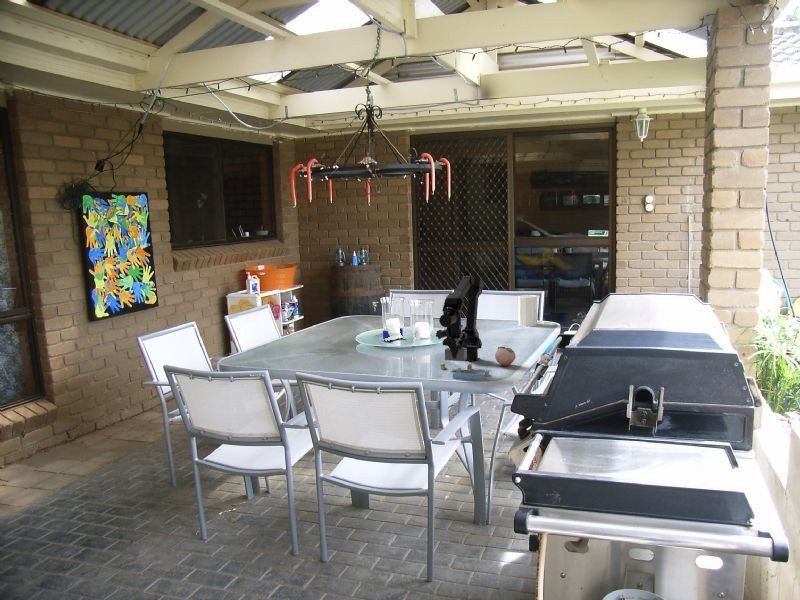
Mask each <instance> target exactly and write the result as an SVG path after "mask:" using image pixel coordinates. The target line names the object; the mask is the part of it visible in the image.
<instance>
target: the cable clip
mask: <svg viewBox="0 0 800 600" xmlns="http://www.w3.org/2000/svg"><path fill="white" fill-rule="evenodd" d="M399 328H400V333H401V335H402V336H403V337H404V335H403V334H404V333H403V332H404V331H403V328H402V327H399ZM390 336H391V335H390V334H389V330H382V340H383V339H385V338H388V337H390Z"/></svg>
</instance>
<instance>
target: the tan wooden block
mask: <svg viewBox="0 0 800 600" xmlns="http://www.w3.org/2000/svg"><path fill="white" fill-rule="evenodd" d="M466 367H467V372H468V371H469V372H471V371H472V370H473V364H471V363H469V364H468V365H467V366H466ZM445 369H446V362H442V363H441V364H440V370H441V371H442V370H445ZM471 369H472V370H471Z"/></svg>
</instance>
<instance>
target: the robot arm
mask: <svg viewBox="0 0 800 600" xmlns="http://www.w3.org/2000/svg"><path fill="white" fill-rule="evenodd" d="M484 283H485V282H484V281H483V280H482V278H477V277H474V276H472V275H464V276H462V277H461V281H460V282H459V283H458V285H457V286H456V288H455V290H454V291H453V292H450V293H449V294H448V295H447V296H446V297H445V299H444V302H443V306H442V313H443V314H441V315H440V317H439V324H440V325H441V326H442V327H443V328H445V329H439V330H438V329H437V330H436V333H435V337H437V339H438V340H441V339H443V338H444V339H443V340H442V346H443V347H444V346H447V348H450V350H451V353H452V356H453V359H455V358H456V356H457V352H458V349H459V348H467V359H466V360H465V361H464V362H475V361H477V362H478V361H479V360H481V357H479V349H482V346H483V342H482V340H481V338H480V334H479V331H478V329H477V318H478V305H479V297H480V296H481V295H482V294H483V290H484V286H485V284H484ZM466 294H467V296H468V299H467V308H466V309H467V310H466V321H465V327H463V324H462V312H463V306H464V305H465V304H464V302H465V301H464V297H465V296H466ZM462 328H463V329H462Z"/></svg>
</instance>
